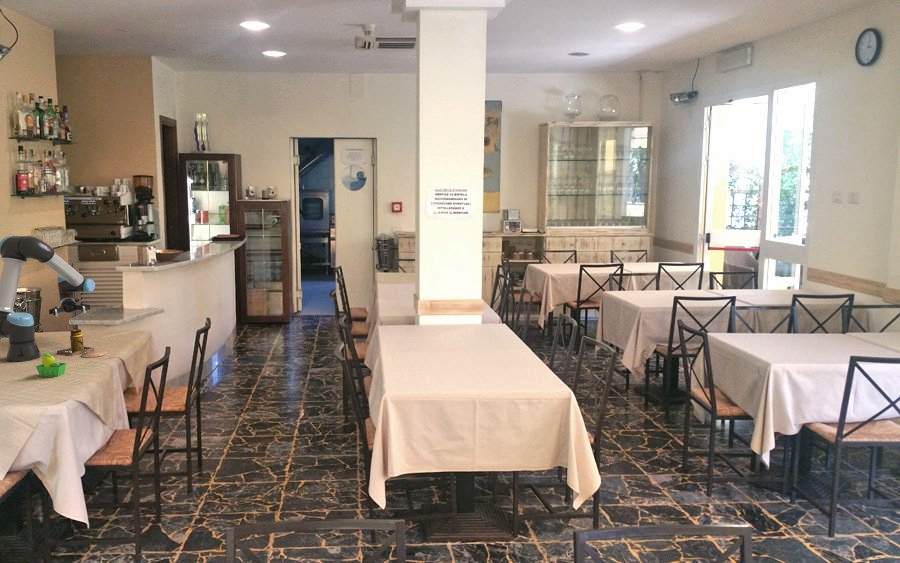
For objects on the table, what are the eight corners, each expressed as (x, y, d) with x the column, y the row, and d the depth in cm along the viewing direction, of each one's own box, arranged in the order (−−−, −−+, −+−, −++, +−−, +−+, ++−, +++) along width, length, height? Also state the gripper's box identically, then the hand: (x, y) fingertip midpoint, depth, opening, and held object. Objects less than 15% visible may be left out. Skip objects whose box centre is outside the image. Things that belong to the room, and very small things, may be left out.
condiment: (86, 352, 400) (84, 330, 398) (69, 354, 394) (67, 332, 392) (81, 349, 405) (80, 328, 403) (65, 352, 399) (63, 330, 397)
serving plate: (91, 358, 384) (91, 357, 384) (76, 356, 390) (76, 354, 390) (111, 353, 395) (111, 352, 394) (96, 351, 400) (96, 350, 400)
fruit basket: (68, 373, 356) (66, 350, 355) (57, 378, 348) (55, 354, 346) (45, 373, 357) (43, 349, 356) (34, 378, 348) (31, 354, 347)
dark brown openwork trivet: (71, 356, 391) (71, 353, 390) (57, 353, 396) (56, 350, 396) (94, 350, 402) (94, 347, 402) (79, 348, 408) (79, 345, 408)
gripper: (93, 308, 430) (96, 315, 411) (44, 314, 418) (45, 322, 399) (91, 295, 428) (95, 302, 410) (42, 301, 416) (43, 308, 398)
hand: (70, 312), depth 405 cm, fingers open, 13 cm apart
